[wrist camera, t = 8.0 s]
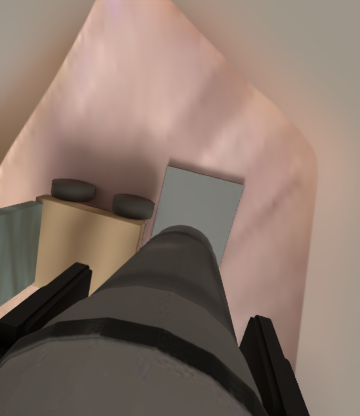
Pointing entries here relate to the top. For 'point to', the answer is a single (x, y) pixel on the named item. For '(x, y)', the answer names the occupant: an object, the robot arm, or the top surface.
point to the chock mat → (198, 205)
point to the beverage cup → (138, 344)
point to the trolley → (67, 236)
